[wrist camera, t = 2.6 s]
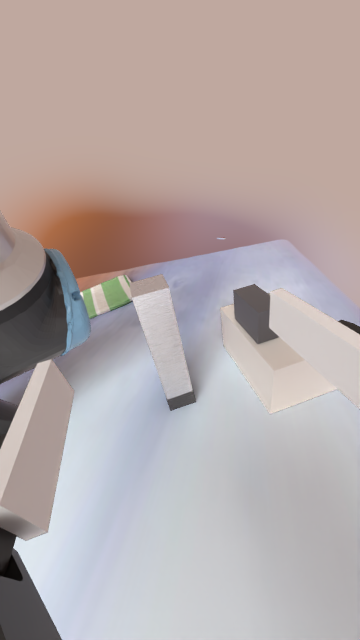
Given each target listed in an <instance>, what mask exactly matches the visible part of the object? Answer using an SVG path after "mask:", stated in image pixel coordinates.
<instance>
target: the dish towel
mask: <svg viewBox="0 0 360 640" xmlns="http://www.w3.org/2000/svg"><path fill="white" fill-rule="evenodd" d="M129 283H132V282H131V280H130V279H129V278H128V277H127V276H126V275H121V276H118V277H116V278H113V279H111V280H108V281H106V282H103V283H101V284H99V285H97V286H94V287H92V288H89V289H87V290H84V291H82V292H81V293H80V295H81V296H82V298H83V300H84V303H85V305H86V308H87V312H88V315H89V319H91V318H93V317H96V316H98V315H101V314H104V313H106V312H109V311H112V310H114V309H116V308H119V307H121V306H124V305H126V304H128V303H129V302H131V301H133V300H132V296H131V290H130V284H129Z"/></svg>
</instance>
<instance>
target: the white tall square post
mask: <svg viewBox="0 0 360 640" xmlns="http://www.w3.org/2000/svg"><path fill="white" fill-rule="evenodd" d="M129 284H130V290H131V296H132V300H133V303H134V306H135V308H136V311H137V314H138V317H139V320H140V323H141V326H142V329H143V332H144V334H145V337H146V340H147V343H148V346H149V349H150V352H151V355H152V358H153V360H154V363H155V366H156V369H157V372H158V375H159V378H160V381H161V384H162V386H163V389H164V392H165V395H166V399H167V402H168V405H169V408H170V411H171V410H174V409H177V408H180V407H183V406H186V405H189V404H191V403H194V402H196V401H195V396H194V392H193V389H192V385H191V381H190V376H189V372H188V368H187V363H186V359H185V355H184V350H183V346H182V342H181V337H180V333H179V329H178V324H177V320H176V315H175V311H174V307H173V302H172V298H171V294H170V289H169V286H168V284H167V283H166V281H165V279H164V277H163V275H162V274H161V275H157V276H154V277H150V278H146V279H143V280H139V281H135V282H132V283H129Z"/></svg>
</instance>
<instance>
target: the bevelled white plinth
mask: <svg viewBox="0 0 360 640" xmlns="http://www.w3.org/2000/svg"><path fill="white" fill-rule="evenodd" d="M268 294H269V295H270V293H268ZM220 312H221V323H222V335H223V346H224V347H225V349H226V350H227V352H228V353H229V355H230V356H231V358H232V359H233V361H234V362H235V364H236V365H237V366H238V368H239V369H240V371H241V372H242V374H243V375H244V377H245V378H246V380H247V381H248V383H249V384H250V386H251V387H252V389H253V390H254V391H255V393H256V394H257V396H258V397H259V399H260V400H261V402H262V403H263V405H264V406H265V408H266V409H267V411H268V412H269V413H270V414H272V413H275V412H278V411H280V410H283V409H286V408H288V407H291V406H294V405H296V404H299V403H302V402H305V401H307V400H310V399H313V398H315V397H318V396H321V395H323V394H326V393H329V392H331V391H334V390H337V388H336V387H334V386H333V385H332V384H331V383H330V382H329V381H328V380H327V379H326V378H324V377H323V376H322V375H321V374H320V373H319V372H318V371H317V370H316V369H314V368H313V367H312V366H311V365H310V364H309V363H308V362H307V361H306V360H304V359H303V358H302V357H301V356H300V355H299V354H298V353H297V352H296V351H294V350H293V349H292V348H291V347H290V346H289V345H288V344H287V343H286V342H284V341H283V340H282V339H281V338H280V337H278V338H275V339H272V340H269V341H266V342H263V343H260V344H257V343H256V342H255V341H254V340H253V338H252V337H251V336H250V335H249V334H248V333H247V332H246V331H245V329H244V328H243V327H242V326H241V325H240V324H239V323H238V322H237V321H236V319H235V314H234V304H232V305H228V306H225V307H222V308H220Z"/></svg>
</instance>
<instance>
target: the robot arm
mask: <svg viewBox="0 0 360 640" xmlns="http://www.w3.org/2000/svg"><path fill="white" fill-rule="evenodd" d="M269 328H270V329H271V330H272V331H273V332H275V333H276V334H277V335H278V336H279V337H280V338H281V339H282V340H283V341H284V342H286V343H287V344H288V345H289V346H290V347H291V348H292V349H293V350H294V351H296V352H297V353H298V354H299V355H300V356H301V357H302V358H303V359H304V360H306V361H307V362H308V363H309V364H310V365H311V366H312V367H313V368H314V369H316V370H317V371H318V372H319V373H320V374H321V375H322V376H323V377H324V378H326V379H327V380H328V381H329V382H330V383H331V384H332V385H333V386H334V387H336V388H337V389H338V390H339V391H340V392H341V393H342V394H343V395H344V396H346V397H347V398H348V399H349V400H350V401H351V402H352V403H353V404H354V405H356V406H357V407H358V408H359V409H360V327H359V326H357V325H356V324H353V323H350V322H347V321H344V320H340V321H336V320H335V319H333V318H331V317H330V316H328V315H326V314H325V313H323V312H321V311H320V310H318V309H316V308H315V307H313V306H311V305H310V304H308V303H306V302H305V301H303V300H301V299H299V298H298V297H296V296H294V295H293V294H291V293H289V292H288V291H286V290H284V289H283V288H280V289H277V290H273V291H270V316H269ZM90 332H91V325H90V319H89V315H88V312H87V308H86V305H85V303H84V300H83V298H82V296H81V295H80V290H79V288H78V284H77V282H76V279H75V277H74V275H73V273H72V271H71V269H70V267H69V265H68V263H67V261H66V260H65V258H64V257H63V255H62V254H61V253H60V252H59V251H58V250H56V249H43V247H42V245H41V244H40V242H39V241H38V240H37V239H36V238H34V237H33V236H32V235H30V234H28V233H26V232H24V231H22V230H19V229H15V228H12V227H10V226H9V224H8V223H7V221H6V219H5V218H4V216H3V215H2V213H1V212H0V384H2V383H4V382H6V381H8V380H10V379H12V378H14V377H16V376H19V375H21V374H23V373H25V372H27V371H29V370H31V369H33V368H35V370H34V372H33V374H32V377H31V379H30V381H29V384H28V386H27V388H26V390H25V393H24V395H23V397H22V400H21V402H20V404H19V406H17V405H14V404H12V403H9V402H6V401H3V400H1V399H0V640H62V639H61V637H60V635H59V633H58V631H57V629H56V627H55V625H54V623H53V621H52V619H51V617H50V615H49V613H48V611H47V609H46V607H45V605H44V603H43V601H42V599H41V597H40V595H39V593H38V591H37V589H36V587H35V585H34V583H33V581H32V579H31V577H30V576H29V574H28V572H27V570H26V568H25V566H24V564H23V562H22V560H21V558H20V556H19V554H18V552H17V551H16V550H15V549H14V548H13V547H14V543H15V539H16V536H17V537H19V538H21V539H23V540H25V541H27V540H29V539H32V538H34V537H37V536H40V535H42V534H45V533H47V532H48V528H49V523H50V518H51V513H52V507H53V502H54V497H55V491H56V486H57V481H58V476H59V470H60V465H61V460H62V454H63V449H64V444H65V439H66V433H67V428H68V423H69V417H70V412H71V407H72V402H73V396H74V390H73V389H72V387H71V386H70V384H69V383H68V382H67V380H66V379H65V377H64V376H63V375H62V373H61V372H60V370H59V369H58V367H57V366H56V365H55V363H54V362H53V360H52V359H55V358H57V357H59V356H63V355H65V354H66V353H67V352H69V350H71V349H73V348H75V347H76V346H78V345H80V344H82V343H84V342H85V341H86V340H87V339H88V337H89V335H90Z"/></svg>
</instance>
